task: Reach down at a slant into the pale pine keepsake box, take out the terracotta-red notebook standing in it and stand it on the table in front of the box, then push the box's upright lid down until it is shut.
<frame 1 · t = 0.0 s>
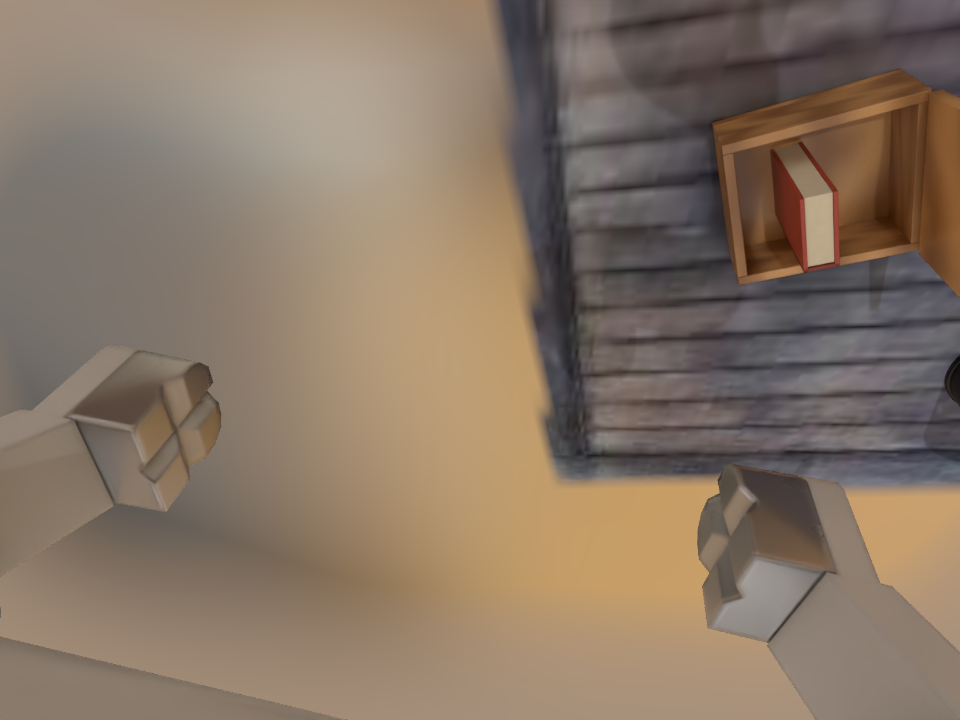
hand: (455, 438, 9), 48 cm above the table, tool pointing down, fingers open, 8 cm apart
pine box: (805, 171, 51), on the table
book: (788, 179, 51), point 1 cm above the table, touching pine box
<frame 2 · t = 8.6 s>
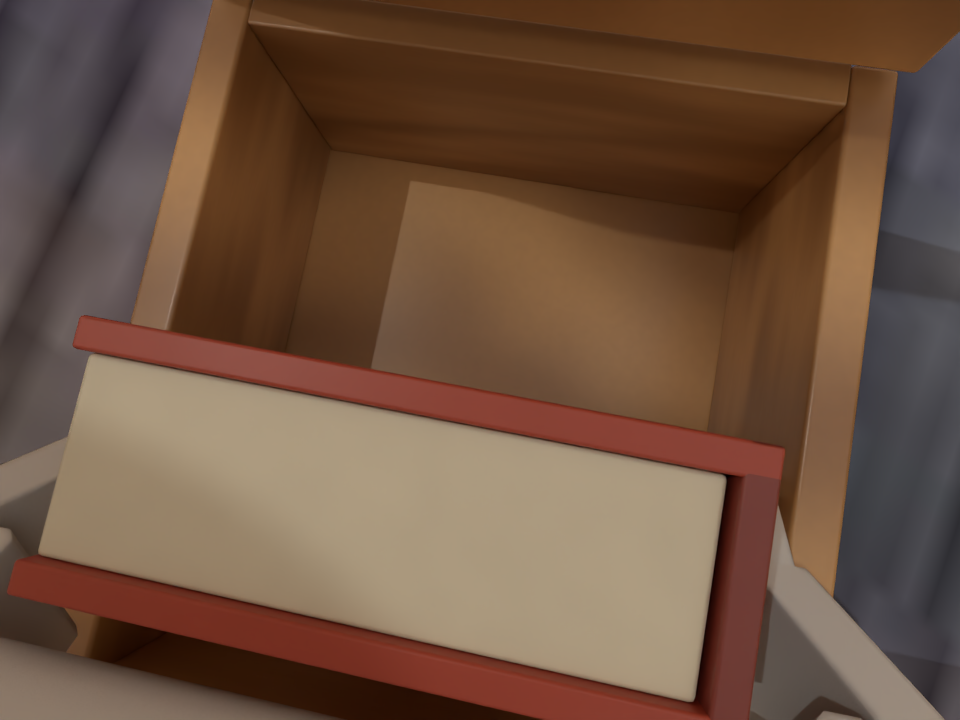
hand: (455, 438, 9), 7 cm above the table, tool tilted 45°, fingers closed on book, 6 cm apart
pine box: (488, 403, 16), on the table
book: (476, 460, 15), point 1 cm above the table, touching gripper, pine box
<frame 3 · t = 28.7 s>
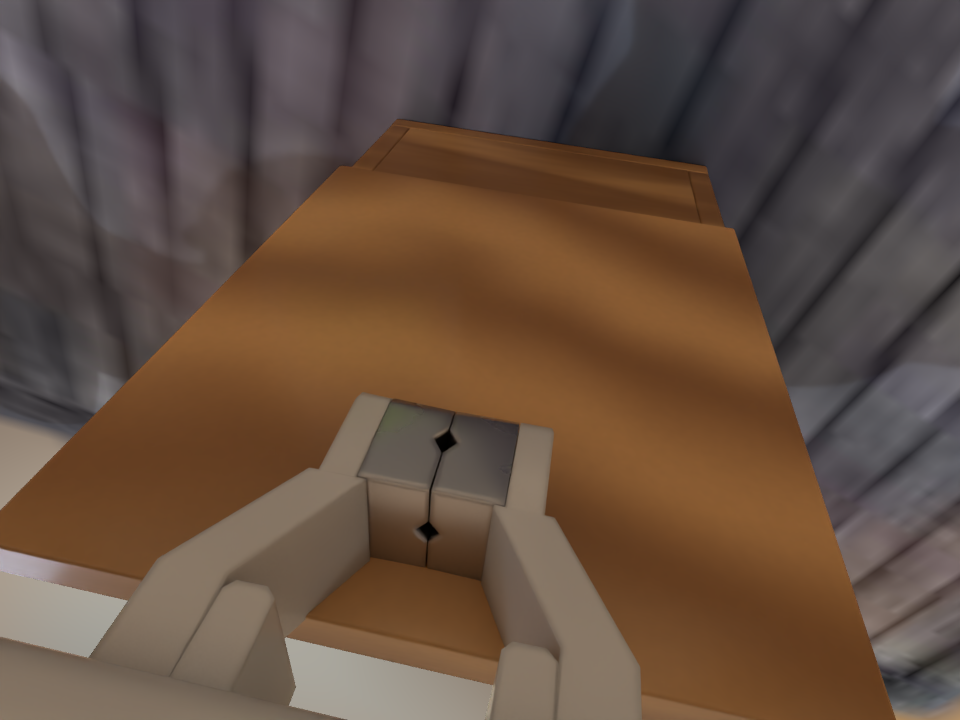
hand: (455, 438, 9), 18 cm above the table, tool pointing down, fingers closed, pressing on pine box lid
pine box: (525, 285, 28), on the table
pine box lid: (493, 339, 14), point 14 cm above the table, hinge at 89.5°, touching gripper
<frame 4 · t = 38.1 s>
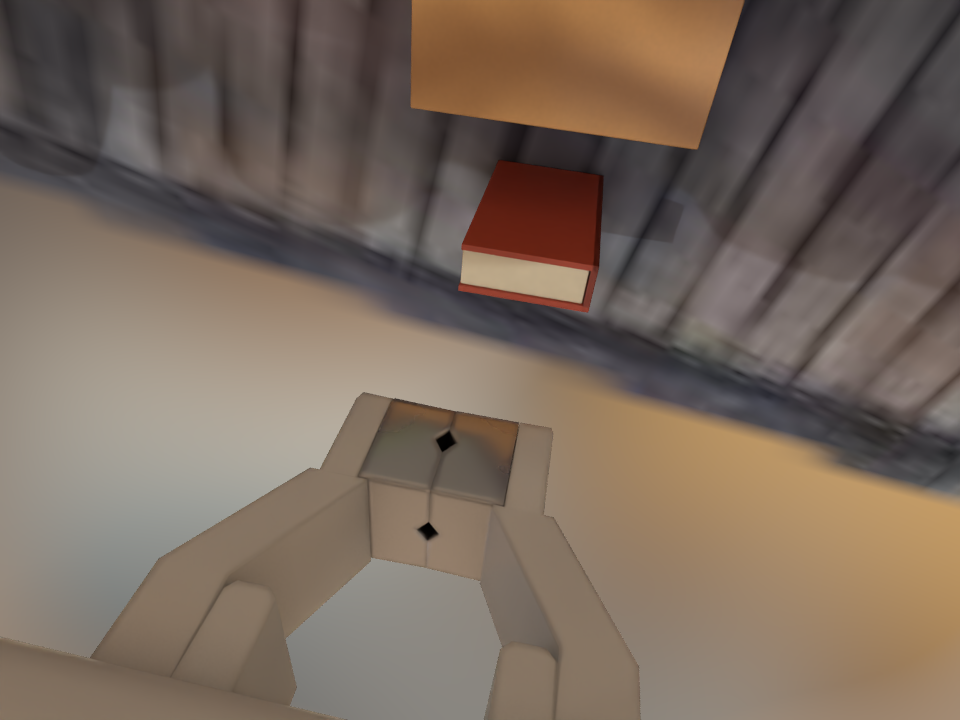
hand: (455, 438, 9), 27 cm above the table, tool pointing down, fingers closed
book: (547, 187, 35), on the table
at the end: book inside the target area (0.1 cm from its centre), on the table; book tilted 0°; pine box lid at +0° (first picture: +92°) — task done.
